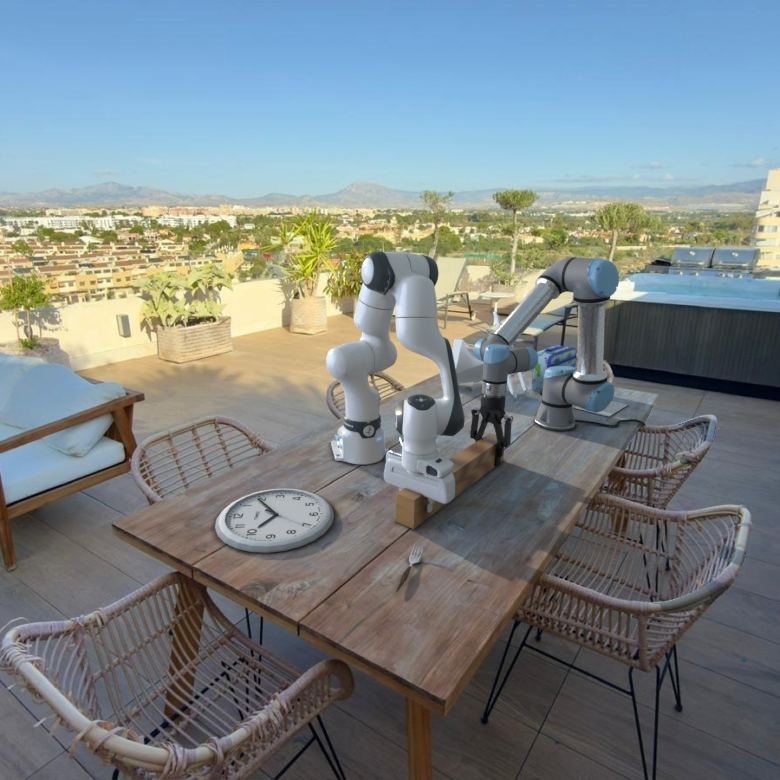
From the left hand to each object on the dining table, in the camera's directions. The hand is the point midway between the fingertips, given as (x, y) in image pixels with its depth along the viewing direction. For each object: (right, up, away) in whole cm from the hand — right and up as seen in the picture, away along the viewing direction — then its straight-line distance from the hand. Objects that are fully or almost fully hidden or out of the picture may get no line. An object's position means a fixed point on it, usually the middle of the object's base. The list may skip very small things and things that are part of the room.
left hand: (417, 506), depth 137 cm
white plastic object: (+35, +29, +106) cm, 115 cm away
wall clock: (-37, -3, -1) cm, 37 cm away
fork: (-3, -10, -21) cm, 24 cm away
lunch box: (+70, +30, +111) cm, 135 cm away
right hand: (+25, +7, +32) cm, 41 cm away
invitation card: (+84, +23, +89) cm, 125 cm away
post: (+12, +2, +17) cm, 21 cm away
